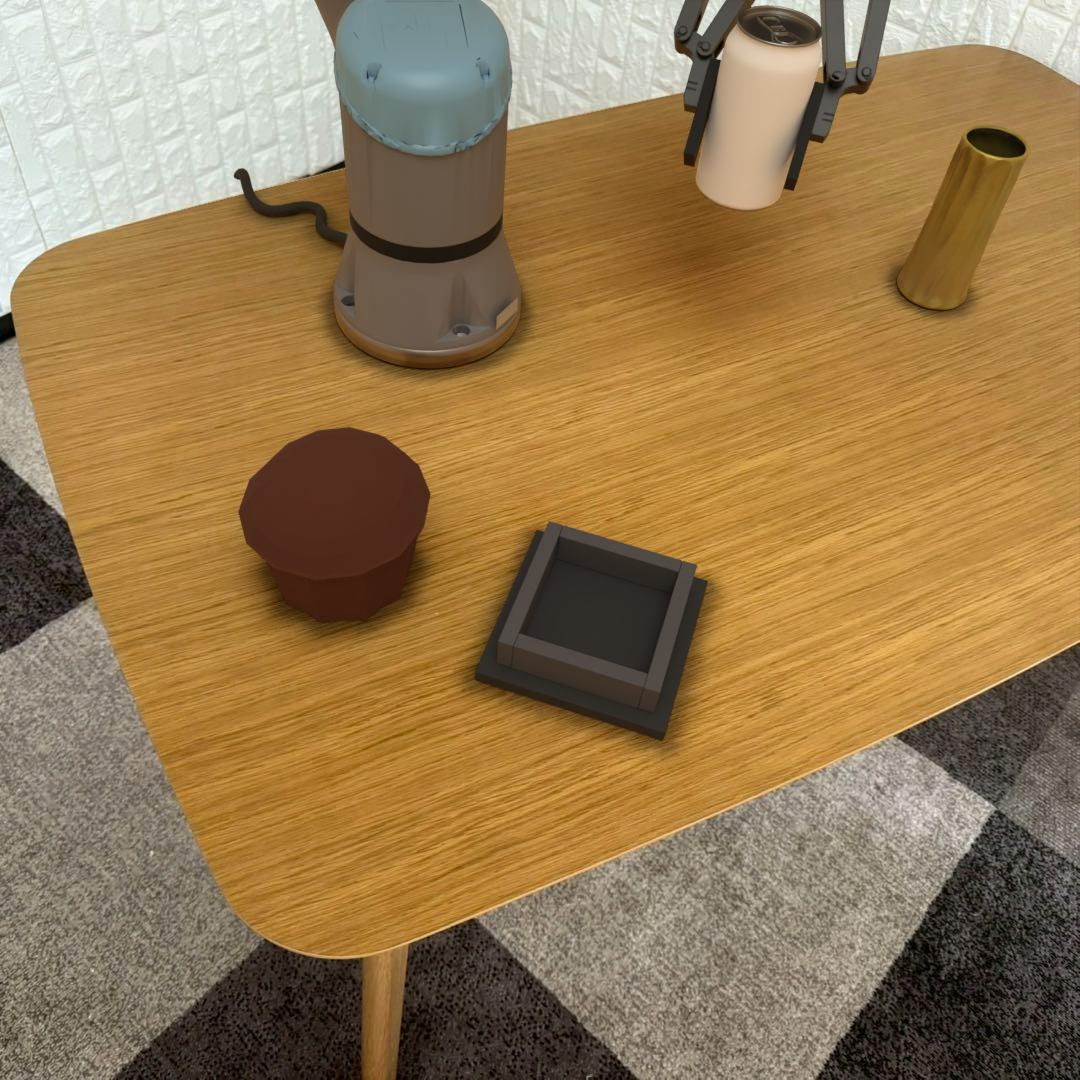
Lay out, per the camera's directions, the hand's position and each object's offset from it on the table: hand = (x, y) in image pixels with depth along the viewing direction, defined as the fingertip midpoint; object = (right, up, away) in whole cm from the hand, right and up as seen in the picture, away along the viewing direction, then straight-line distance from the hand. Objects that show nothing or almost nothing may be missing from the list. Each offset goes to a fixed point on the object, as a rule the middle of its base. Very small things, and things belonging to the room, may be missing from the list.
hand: (739, 171), depth 71 cm
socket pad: (-10, -31, -5) cm, 34 cm away
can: (+1, 0, +5) cm, 5 cm away
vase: (+21, -3, +20) cm, 29 cm away
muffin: (-27, -27, -3) cm, 39 cm away
